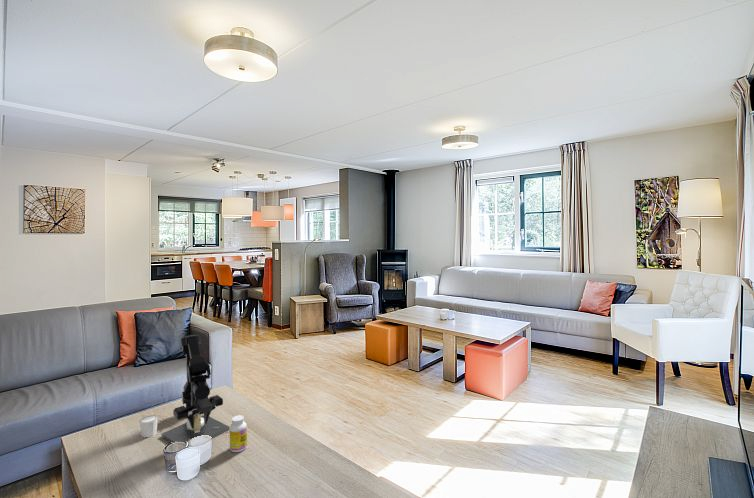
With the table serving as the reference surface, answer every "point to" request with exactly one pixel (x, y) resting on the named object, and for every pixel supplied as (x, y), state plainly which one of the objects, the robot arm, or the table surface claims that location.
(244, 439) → the supplement bottle
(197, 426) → the beige rounded piece
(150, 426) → the shot glass
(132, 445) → the table surface
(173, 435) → the base
